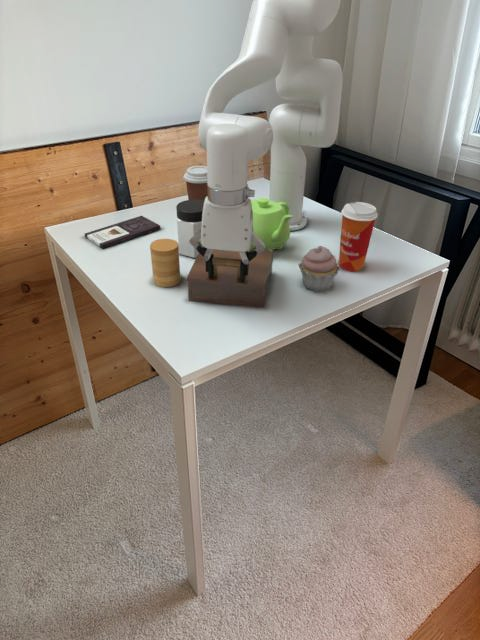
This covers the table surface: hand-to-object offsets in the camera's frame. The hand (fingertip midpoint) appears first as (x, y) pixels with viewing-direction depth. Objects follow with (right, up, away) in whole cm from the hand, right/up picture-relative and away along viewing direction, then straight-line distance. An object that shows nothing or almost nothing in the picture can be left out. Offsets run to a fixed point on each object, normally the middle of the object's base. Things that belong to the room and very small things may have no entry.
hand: (227, 275), depth 106 cm
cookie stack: (-14, 0, +11) cm, 18 cm away
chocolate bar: (-29, +14, +31) cm, 44 cm away
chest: (+1, -2, +9) cm, 9 cm away
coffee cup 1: (-9, +24, +45) cm, 52 cm away
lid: (+1, +2, +5) cm, 6 cm away
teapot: (+9, +9, +25) cm, 28 cm away
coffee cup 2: (+30, +4, +18) cm, 35 cm away
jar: (-9, +8, +23) cm, 26 cm away
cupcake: (+20, -1, +10) cm, 23 cm away
